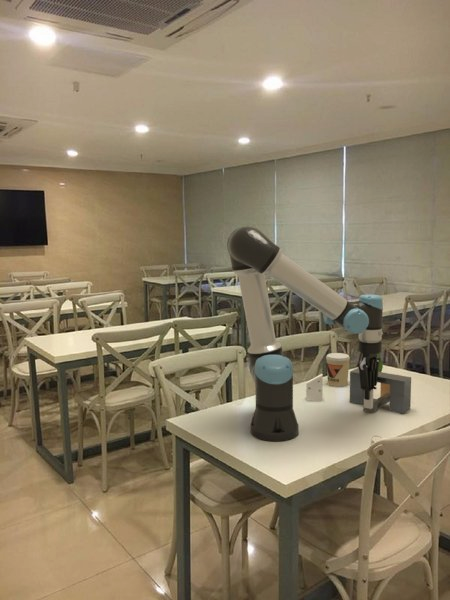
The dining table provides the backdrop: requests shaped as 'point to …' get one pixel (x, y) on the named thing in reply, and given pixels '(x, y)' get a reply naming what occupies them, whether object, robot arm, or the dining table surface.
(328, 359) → the coffee cup
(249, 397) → the dining table surface
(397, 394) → the housing
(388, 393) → the plug
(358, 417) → the dining table surface
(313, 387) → the white angled block
